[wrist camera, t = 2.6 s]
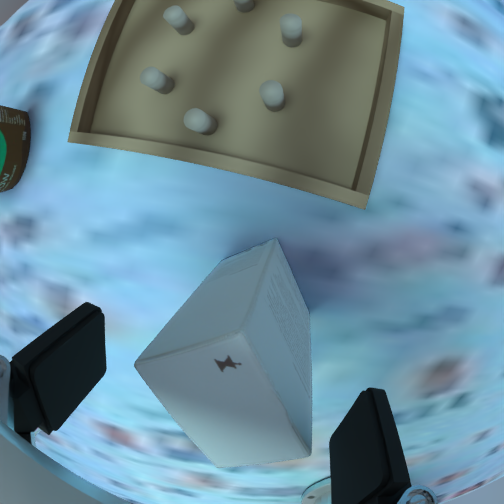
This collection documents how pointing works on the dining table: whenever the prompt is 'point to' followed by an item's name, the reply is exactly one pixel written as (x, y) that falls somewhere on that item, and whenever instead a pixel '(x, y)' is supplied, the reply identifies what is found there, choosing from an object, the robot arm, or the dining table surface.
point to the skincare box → (239, 362)
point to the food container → (13, 146)
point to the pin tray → (248, 87)
